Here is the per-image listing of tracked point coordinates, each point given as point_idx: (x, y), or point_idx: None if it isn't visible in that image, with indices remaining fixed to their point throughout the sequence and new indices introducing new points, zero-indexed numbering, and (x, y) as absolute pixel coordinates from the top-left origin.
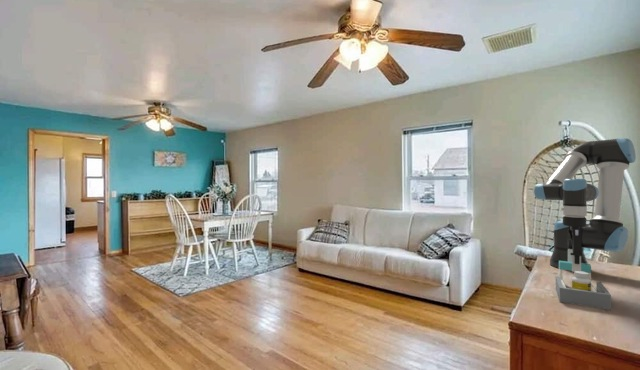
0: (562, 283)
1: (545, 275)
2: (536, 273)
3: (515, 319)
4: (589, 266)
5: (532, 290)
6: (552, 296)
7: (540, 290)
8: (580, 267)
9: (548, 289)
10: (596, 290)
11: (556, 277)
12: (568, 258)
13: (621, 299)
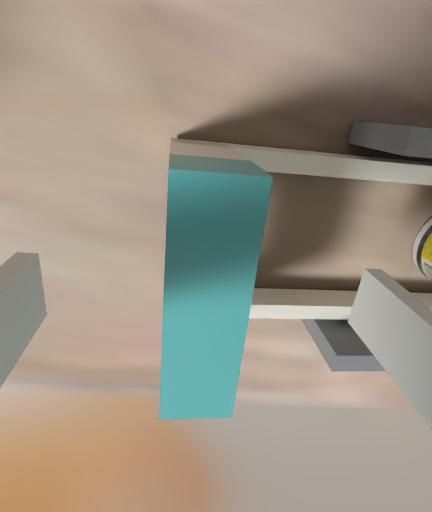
0: (314, 313)
1: None
2: (5, 381)
3: None
4: (265, 188)
5: (360, 395)
6: None
7: (352, 372)
8: (408, 298)
9: None
10: (363, 146)
11: (363, 369)
12: (15, 355)
13: (417, 7)
